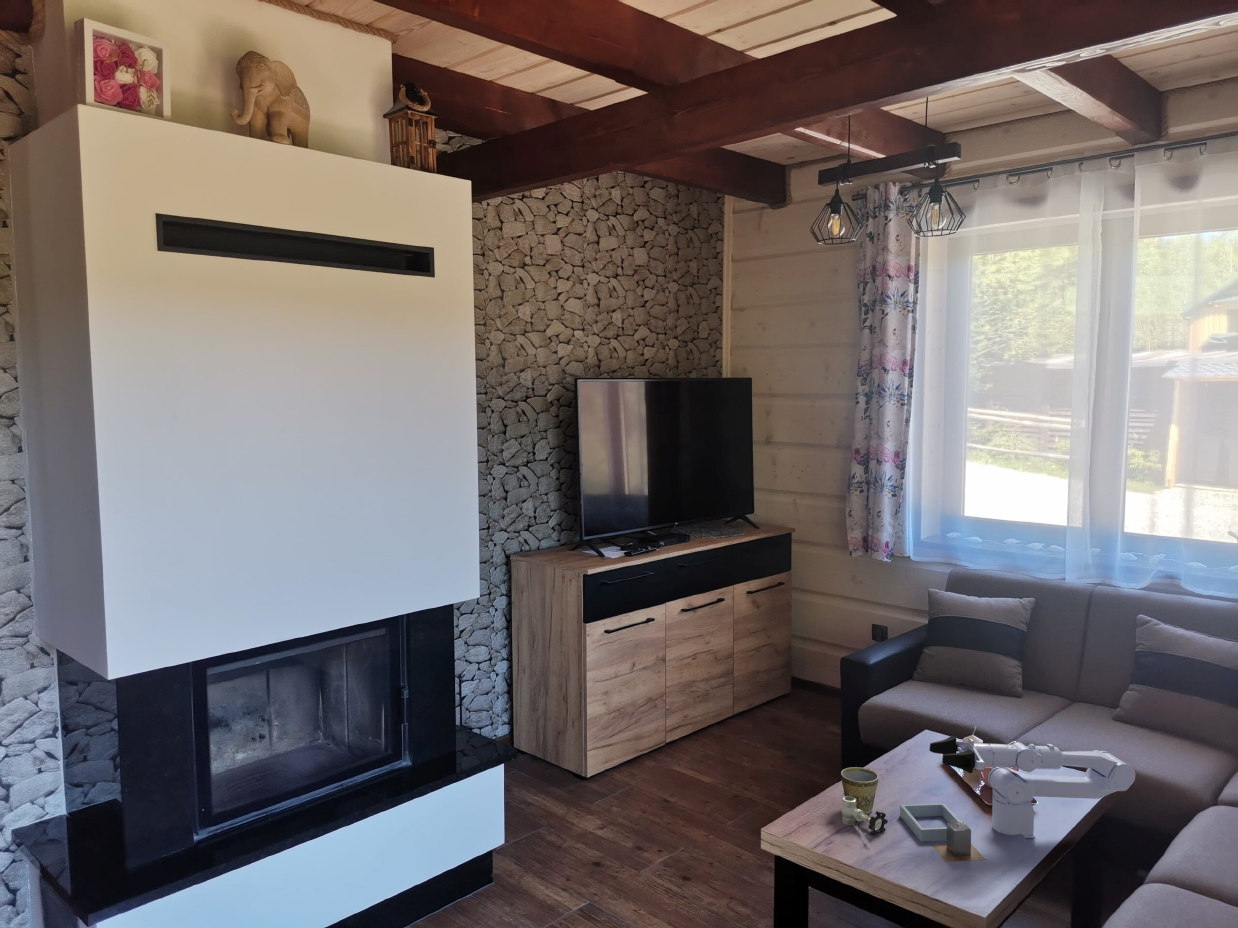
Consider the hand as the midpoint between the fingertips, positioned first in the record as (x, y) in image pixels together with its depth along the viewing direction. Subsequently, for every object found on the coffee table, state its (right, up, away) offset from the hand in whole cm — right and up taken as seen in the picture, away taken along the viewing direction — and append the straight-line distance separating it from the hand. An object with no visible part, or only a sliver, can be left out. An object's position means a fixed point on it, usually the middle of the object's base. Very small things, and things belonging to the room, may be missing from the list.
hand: (936, 753), depth 224 cm
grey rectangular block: (+2, -21, -10) cm, 23 cm away
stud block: (+2, -22, -9) cm, 24 cm away
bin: (0, -21, +3) cm, 22 cm away
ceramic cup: (-15, -21, +17) cm, 31 cm away
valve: (-18, -22, +6) cm, 29 cm away
